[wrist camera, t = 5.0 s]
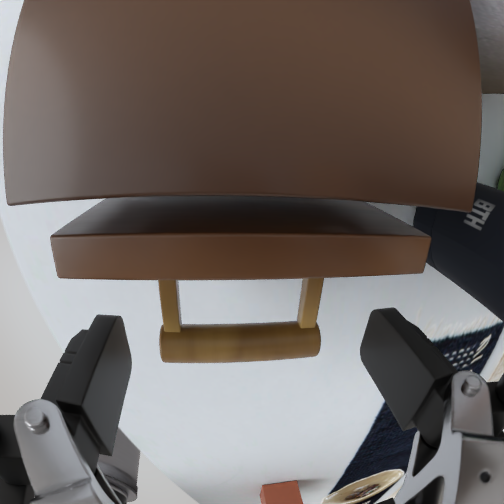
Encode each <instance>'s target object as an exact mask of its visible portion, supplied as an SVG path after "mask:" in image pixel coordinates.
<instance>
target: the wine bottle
mask: <svg viewBox="0 0 504 504" xmlns="http://www.w3.org/2000/svg"><path fill="white" fill-rule="evenodd" d="M413 227H414V228H416V229H418V230H420V231H422V232H423V233H425V234H427V235H429V236H430V237H431V243H430V248H429V252H428V256H427V260H426V262H427V263H428V264H429V265H431V266H432V267H433V268H435V269H436V270H438V271H439V272H440V273H442V274H443V275H445V276H446V277H447V278H449V279H450V280H451V281H453V282H454V283H455V284H457V285H458V286H459V287H461V288H462V289H463V290H465V291H466V292H467V293H469V294H470V295H471V296H472V297H474V298H475V299H476V300H477V301H479V302H480V303H481V304H483V305H484V306H485V307H486V308H487V309H489V310H490V311H491V312H492V313H494V314H495V315H496V316H497V317H498V318H500V319H501V320H502V321H503V322H504V191H501V190H498V189H495V188H492V187H489V186H486V185H483V184H480V183H476V190H475V197H474V202H473V208H472V211H471V212H469V213H468V212H460V211H452V210H444V209H436V208H427V207H417V211H416V214H415V217H414V226H413Z"/></svg>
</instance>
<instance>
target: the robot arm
mask: <svg viewBox="0 0 504 504" xmlns="http://www.w3.org/2000/svg"><path fill="white" fill-rule="evenodd" d="M360 356H361V360H362V362H363V364H364V366H365V367H366V369H367V371H368V372H369V374H370V376H371V377H372V379H373V381H374V382H375V384H376V386H377V387H378V389H379V391H380V393H381V394H382V396H383V398H384V399H385V401H386V403H387V404H388V406H389V408H390V410H391V411H392V413H393V415H394V416H395V418H396V420H397V422H398V423H399V425H400V427H401V429H402V430H403V431H405V430H407V429H410V428H413V427H417V429H418V431H417V433H416V434H415V437H414V441H413V446H412V451H411V456H410V460H409V465H408V469H407V473H406V477H405V480H404V483H403V485H402V487H401V489H400V490H399V492H398V493H397V495H396V496H395V498H394V499H393V498H390V499H388V500H385V501H382V502H380V503H377V504H504V432H503V431H502V430H503V429H504V374H503V375H502V377H501V379H500V380H499V382H486V381H485V380H484V379H483V378H482V377H481V376H480V375H478V374H476V373H474V372H471V371H459V372H458V371H457V370H456V369H455V368H454V367H453V365H452V364H451V363H450V362H449V361H448V360H447V359H446V357H445V356H444V355H443V354H442V353H441V352H440V351H439V350H438V348H437V347H436V346H433V343H432V342H431V341H430V340H429V338H428V339H427V336H426V335H425V334H424V333H423V332H422V331H421V330H420V329H419V328H418V327H417V326H415V325H414V324H412V323H410V322H409V321H407V320H406V319H405V318H404V317H403V316H402V315H401V314H400V313H399V312H398V310H397V309H395V308H385V309H375V310H373V311H372V312H371V314H370V317H369V320H368V324H367V327H366V330H365V334H364V337H363V340H362V343H361V347H360ZM131 368H132V360H131V353H130V349H129V345H128V341H127V336H126V332H125V327H124V323H123V319H122V317H121V316H113V315H97V316H96V317H95V319H94V321H93V322H92V324H91V326H90V328H89V330H81V331H80V332H79V333H78V334H77V335H76V336H74V337H73V338H72V339H71V341H70V342H69V344H68V346H67V348H66V350H65V353H63V355H62V357H61V359H60V363H58V365H57V367H56V369H55V371H54V373H53V375H52V377H51V379H50V381H49V383H48V385H47V387H46V389H45V391H44V393H43V395H42V397H41V399H38V400H32V401H29V402H27V403H25V404H24V405H23V406H21V408H19V410H18V411H17V413H16V415H0V504H126V503H127V500H128V495H127V493H126V492H125V491H123V490H122V489H120V488H118V487H116V486H115V485H112V484H110V483H108V482H107V480H106V478H105V477H104V475H103V473H102V472H101V470H100V468H99V467H98V465H97V462H98V457H99V454H103V455H109V456H112V453H113V448H114V443H115V438H116V433H117V429H118V424H119V419H120V415H121V411H122V406H123V402H124V398H125V394H126V390H127V386H128V382H129V378H130V374H131ZM34 497H35V498H34Z"/></svg>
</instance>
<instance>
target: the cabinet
mask: <svg viewBox="0 0 504 504" xmlns="http://www.w3.org/2000/svg"><path fill="white" fill-rule="evenodd" d="M481 126H482V89H481V71H480V59H479V50H478V42H477V35H476V28H475V23H474V17H473V12H472V7H471V3H470V0H24V3H23V6H22V9H21V13H20V16H19V20H18V24H17V28H16V32H15V36H14V41H13V46H12V51H11V56H10V62H9V68H8V75H7V83H6V93H5V104H4V123H3V158H4V177H5V189H6V199H7V204H8V205H10V206H15V205H24V204H34V203H45V202H57V201H70V200H85V199H102V198H122V197H151V196H265V197H294V198H315V199H333V200H349V201H363V202H375V203H387V204H398V205H408V206H418V207H427V208H436V209H444V210H452V211H460V212H468V213H469V212H471V211H472V208H473V202H474V197H475V190H476V183H477V176H478V167H479V157H480V145H481Z"/></svg>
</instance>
